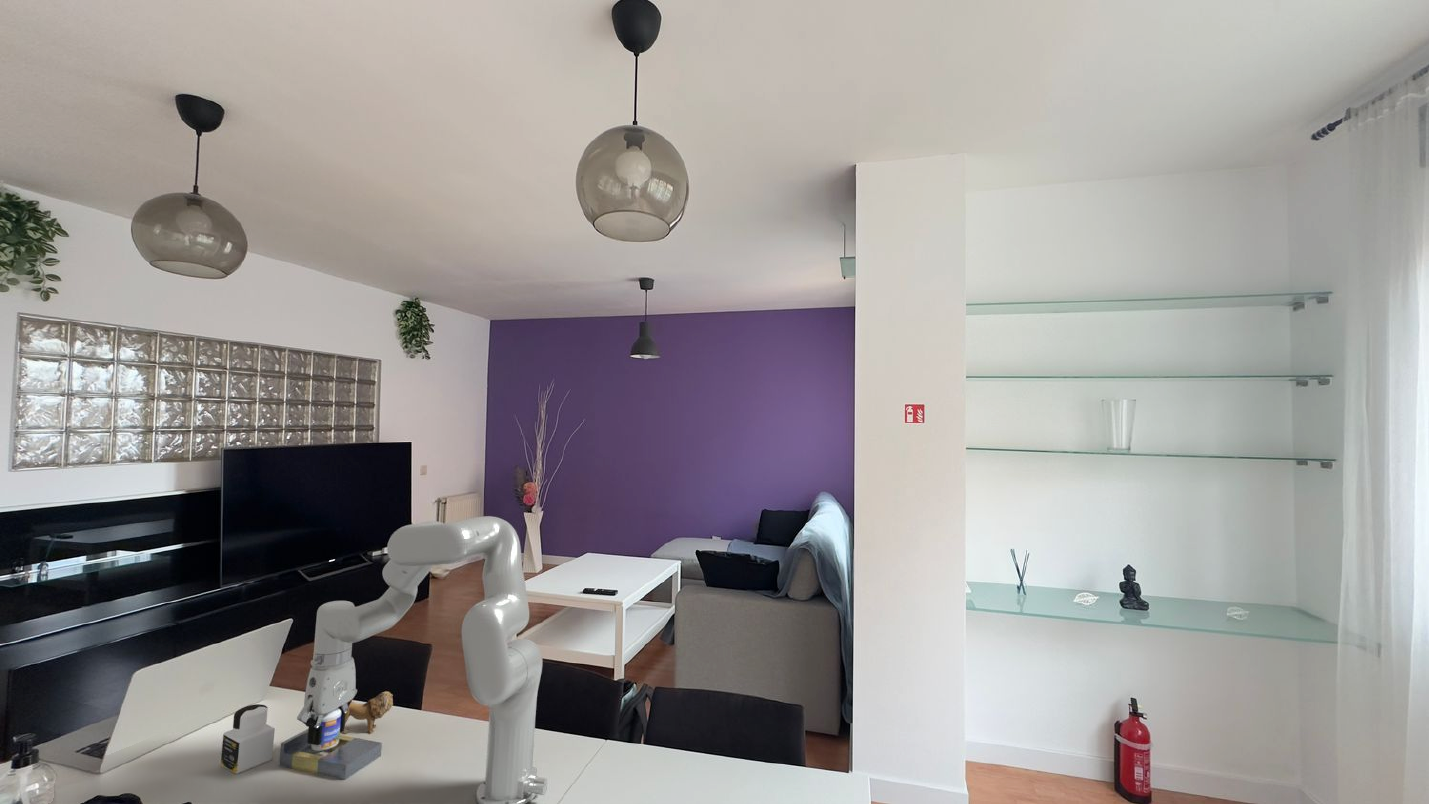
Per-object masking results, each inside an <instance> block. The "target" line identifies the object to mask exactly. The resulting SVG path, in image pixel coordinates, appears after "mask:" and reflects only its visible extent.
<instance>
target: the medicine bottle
mask: <svg viewBox="0 0 1429 804" xmlns="http://www.w3.org/2000/svg"><path fill="white" fill-rule="evenodd" d="M268 711H269V710H268V706H267V705H265V704H250V705H247V706H244V707H241V708H239V709H238V710H237V711H235V712H234V713H233V724H232V729H231V730H228V731H225V732H224V733H223V736H222V743H221V744H222V745H221V753H220V754H221V757H220V766H223V767H224V768H225V769H227V770H229V771H231V772H232V773H234V774H236V775H237V774H240V773H243V772H245V771H247V770H250V769H252V768H255V767H257V766H260V765H262V764H264V763H267V762H269V761H271V760H272V759H273V754H274V751H273V750H274V741H275V727H273V726H271V725H269V724H267V720H268V719H267V718H268Z"/></svg>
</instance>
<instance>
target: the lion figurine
mask: <svg viewBox="0 0 1429 804" xmlns="http://www.w3.org/2000/svg"><path fill="white" fill-rule="evenodd" d="M393 696H394V695H393V694H392V693H391V692H390V691H383V692H381V693H380V694H378V695H377V696H376V697H373V698H371V699H370V700H367V702H366V703H356V702H354V701H352V702H351V703H350V705H349V707H348V712H347V713H345V725H347V722H348V720H349V717H353V718H354V720H355V719H356V720H358V721H364V720H366V722H367V731H368V734H373V733H374V732H375V730H374V729H376V728H377V724H375V721H376V720H378V719H382V717H383V716H384V715H385V714H386V713H387V712H389V711H390V710H391V708H392V707H393V705H394V703H393V702H394V700H393ZM341 733H342V735H343V734H344V735H346V734H348V733H349V730H348V729H346V726H345V727H344V731H342V732H341Z"/></svg>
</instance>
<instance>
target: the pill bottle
mask: <svg viewBox="0 0 1429 804" xmlns="http://www.w3.org/2000/svg"><path fill="white" fill-rule="evenodd" d="M316 718H317V715H315V717H314V720H316ZM340 722H341V710H340V709H339V708H336V709H334V710H332V711H330V712H328V713H326V714H324V715H323V718H322V721H321V724H320V726H322V739H321V744H319V745H313V744H311V747H312V749H313V750H316V751H321V752H322V750H323V751H328V750H327V749H330V748H332V747H334V746H336V745H337V744H338V743H339V736H340V735H341V734H340V733H341V732H340Z"/></svg>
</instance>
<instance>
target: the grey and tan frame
mask: <svg viewBox="0 0 1429 804" xmlns="http://www.w3.org/2000/svg"><path fill="white" fill-rule="evenodd" d="M307 740H308V728H307V729H305V730H303V731H301V732H299V733H297V734H295V735H294V736H292V737H290V738H288V739H286V740H284V741H282V742H280V750H279V762H278V766H279V767H281V768H282V767H283V768H288V769H292V770H297V771H301V772H307V773H310V774H317V775H320V776H321V775H322V776H326V777H331V778H334V779H335V778H336V779H340V780H345V781H346V780H347V779H348V778H350V777H351V776H354V775H355V774H356V773H357V772H359V771H361V770H362V769H364V768H365V767H367V766H368V765H370V764H371V763H372V762H375V761H376V760H377V759H378V758H380V757H381V756H382V748H383V747H382V745H383V742H379V741H375V740H370V739H369V740H368V739H365V738H358V737H352V736H348V735H343V734H340V736H339V743H338V744H337V745H336V746H334V747H332V748H330V749H327V750H326V751H330V752H329V753H327V754H325V755H320V754H319V753H321V752H322V751H324V750H322V751H316V750H313V749H312V747H311V744H308V742H307Z"/></svg>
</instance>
